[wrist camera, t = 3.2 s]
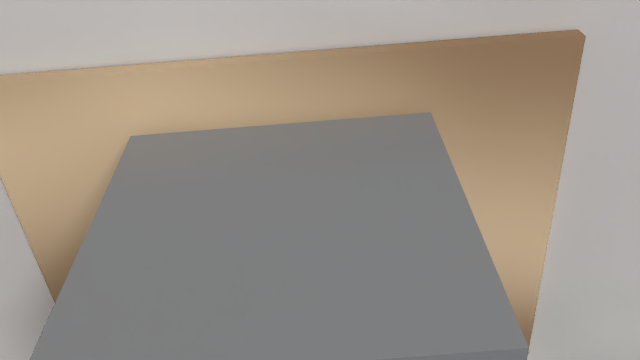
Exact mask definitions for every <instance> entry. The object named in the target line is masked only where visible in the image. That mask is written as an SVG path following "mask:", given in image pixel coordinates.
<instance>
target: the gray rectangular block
mask: <svg viewBox="0 0 640 360" xmlns="http://www.w3.org/2000/svg"><path fill="white" fill-rule="evenodd" d="M528 350H529V347H528V345H527V342H526V340H525V338H524V335H523V333H522V330H521V328H520V325H519V323H518V321H517V318H516V316H515V313H514V311H513V309H512V306H511V304H510V301H509V299H508V297H507V294H506V292H505V289H504V287H503V285H502V282H501V280H500V277H499V275H498V273H497V270H496V268H495V265H494V263H493V261H492V258H491V256H490V253H489V251H488V249H487V246H486V244H485V241H484V239H483V237H482V234H481V232H480V229H479V227H478V224H477V222H476V220H475V217H474V215H473V212H472V210H471V208H470V205H469V203H468V200H467V198H466V196H465V193H464V191H463V188H462V186H461V184H460V181H459V179H458V176H457V174H456V172H455V169H454V167H453V164H452V162H451V160H450V157H449V155H448V152H447V150H446V148H445V145H444V143H443V140H442V138H441V135H440V133H439V131H438V128H437V126H436V123H435V121H434V119H433V116H432V114H431V112H428V113H415V114H403V115H390V116H377V117H364V118H352V119H339V120H326V121H313V122H301V123H288V124H275V125H263V126H250V127H237V128H224V129H212V130H199V131H186V132H174V133H161V134H148V135H135V136H130V139H129V141H128V143H127V145H126V147H125V150H124V152H123V154H122V156H121V158H120V161H119V163H118V165H117V167H116V170H115V172H114V174H113V176H112V178H111V181H110V183H109V185H108V187H107V190H106V192H105V194H104V196H103V198H102V201H101V203H100V205H99V207H98V209H97V212H96V214H95V216H94V218H93V221H92V223H91V225H90V227H89V229H88V232H87V234H86V236H85V238H84V241H83V243H82V245H81V247H80V249H79V252H78V254H77V256H76V258H75V260H74V263H73V265H72V267H71V269H70V272H69V274H68V276H67V278H66V280H65V283H64V285H63V287H62V289H61V291H60V294H59V296H58V298H57V300H56V303H55V305H54V307H53V309H52V311H51V314H50V316H49V318H48V320H47V323H46V325H45V327H44V329H43V331H42V334H41V336H40V338H39V340H38V342H37V345H36V347H35V349H34V351H33V354H32V356H31V358H30V360H527V355H528Z"/></svg>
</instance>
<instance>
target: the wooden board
mask: <svg viewBox="0 0 640 360" xmlns="http://www.w3.org/2000/svg"><path fill="white" fill-rule="evenodd" d="M584 42H585V35H584V34H583V33H581V32H580V31H579V30H567V31H555V32H542V33H529V34H517V35H504V36H491V37H479V38H466V39H453V40H441V41H428V42H415V43H403V44H390V45H377V46H365V47H352V48H339V49H327V50H314V51H301V52H288V53H276V54H263V55H250V56H238V57H225V58H212V59H200V60H187V61H174V62H162V63H149V64H136V65H124V66H111V67H98V68H86V69H73V70H60V71H48V72H35V73H22V74H10V75H0V176H1V179H2V181H3V183H4V186H5V188H6V190H7V193H8V195H9V197H10V200H11V202H12V204H13V207H14V209H15V211H16V214H17V216H18V218H19V220H20V223H21V225H22V227H23V230H24V232H25V234H26V237H27V239H28V241H29V244H30V246H31V248H32V251H33V253H34V255H35V258H36V260H37V262H38V265H39V267H40V269H41V272H42V274H43V276H44V279H45V281H46V283H47V286H48V288H49V290H50V293H51V295H52V297H53V300H54V302H55V303H56V300H57V298H58V296H59V294H60V291H61V289H62V287H63V285H64V283H65V280H66V278H67V276H68V274H69V272H70V269H71V267H72V265H73V263H74V260H75V258H76V256H77V254H78V252H79V249H80V247H81V245H82V243H83V241H84V238H85V236H86V234H87V232H88V229H89V227H90V225H91V223H92V221H93V218H94V216H95V214H96V212H97V209H98V207H99V205H100V203H101V201H102V198H103V196H104V194H105V192H106V190H107V187H108V185H109V183H110V181H111V178H112V176H113V174H114V172H115V170H116V167H117V165H118V163H119V161H120V158H121V156H122V154H123V152H124V150H125V147H126V145H127V143H128V141H129V139H130V136H135V135H148V134H161V133H174V132H186V131H199V130H212V129H224V128H237V127H250V126H263V125H275V124H288V123H301V122H313V121H326V120H339V119H352V118H364V117H377V116H390V115H403V114H415V113H428V112H431V114H432V116H433V119H434V121H435V123H436V126H437V128H438V131H439V133H440V135H441V138H442V140H443V143H444V145H445V148H446V150H447V152H448V155H449V157H450V160H451V162H452V164H453V167H454V169H455V172H456V174H457V176H458V179H459V181H460V184H461V186H462V188H463V191H464V193H465V196H466V198H467V200H468V203H469V205H470V208H471V210H472V212H473V215H474V217H475V220H476V222H477V224H478V227H479V229H480V232H481V234H482V237H483V239H484V241H485V244H486V246H487V249H488V251H489V253H490V256H491V258H492V261H493V263H494V265H495V268H496V270H497V273H498V275H499V277H500V280H501V282H502V285H503V287H504V289H505V292H506V294H507V297H508V299H509V301H510V304H511V306H512V309H513V311H514V313H515V316H516V318H517V321H518V323H519V325H520V328H521V330H522V333H523V335H524V338H525V340H526V342H527V345H528V347H529V344H530V339H531V333H532V328H533V322H534V317H535V311H536V306H537V300H538V295H539V289H540V284H541V278H542V273H543V267H544V262H545V256H546V251H547V245H548V240H549V234H550V229H551V223H552V218H553V212H554V207H555V201H556V196H557V190H558V185H559V179H560V174H561V168H562V163H563V157H564V152H565V146H566V141H567V135H568V130H569V124H570V119H571V113H572V108H573V102H574V97H575V91H576V86H577V80H578V75H579V69H580V64H581V58H582V53H583V47H584Z"/></svg>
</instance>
